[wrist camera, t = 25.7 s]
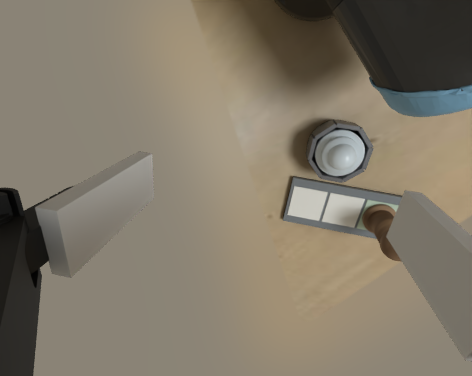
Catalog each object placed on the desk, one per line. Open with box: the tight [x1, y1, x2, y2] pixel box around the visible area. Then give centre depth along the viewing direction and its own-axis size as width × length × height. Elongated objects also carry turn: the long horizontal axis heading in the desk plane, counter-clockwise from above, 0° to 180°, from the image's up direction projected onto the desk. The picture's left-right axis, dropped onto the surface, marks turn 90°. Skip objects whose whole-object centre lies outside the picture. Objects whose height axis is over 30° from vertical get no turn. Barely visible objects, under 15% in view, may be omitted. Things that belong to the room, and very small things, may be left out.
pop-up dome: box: [314, 128, 365, 176], centre depth 39 cm, size 7×7×6 cm
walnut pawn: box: [362, 204, 401, 261], centre depth 42 cm, size 6×6×11 cm
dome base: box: [306, 120, 373, 183], centre depth 42 cm, size 9×9×4 cm
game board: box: [283, 176, 402, 239], centre depth 48 cm, size 9×20×1 cm, turn 82°
